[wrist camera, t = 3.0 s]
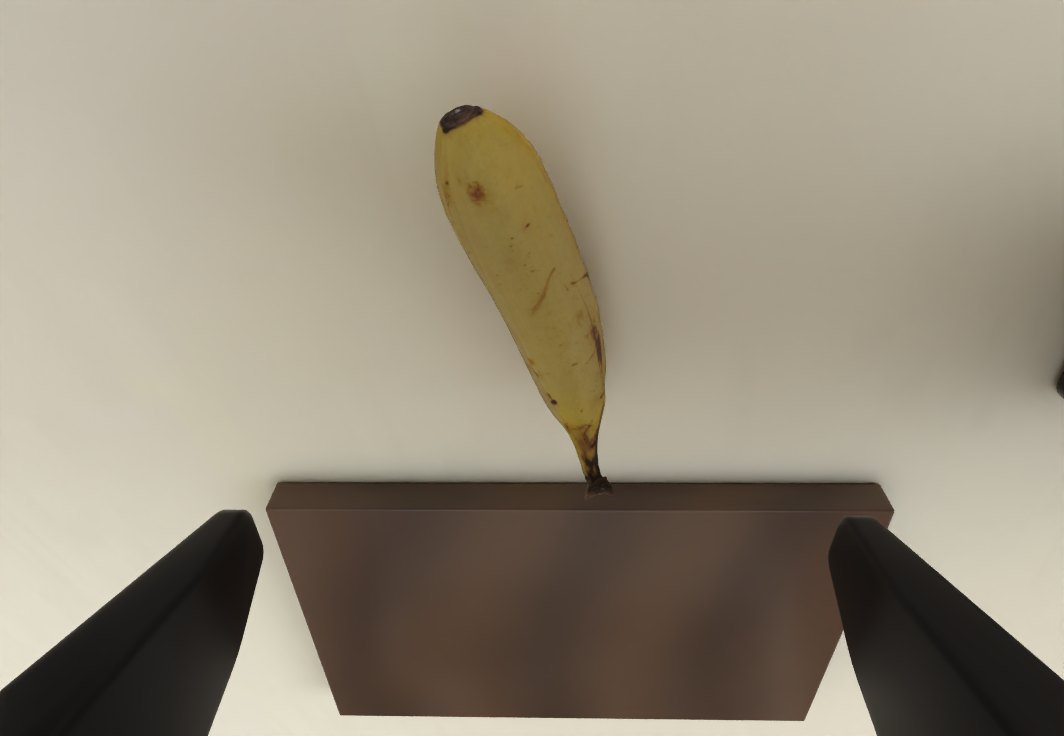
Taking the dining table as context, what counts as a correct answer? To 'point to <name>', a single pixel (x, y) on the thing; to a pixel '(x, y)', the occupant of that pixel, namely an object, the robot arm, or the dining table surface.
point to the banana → (527, 267)
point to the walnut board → (569, 596)
